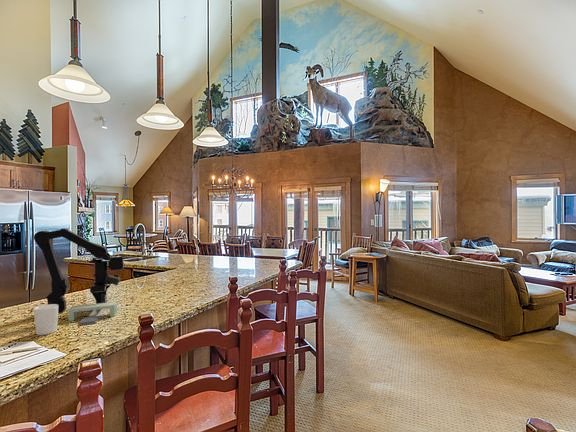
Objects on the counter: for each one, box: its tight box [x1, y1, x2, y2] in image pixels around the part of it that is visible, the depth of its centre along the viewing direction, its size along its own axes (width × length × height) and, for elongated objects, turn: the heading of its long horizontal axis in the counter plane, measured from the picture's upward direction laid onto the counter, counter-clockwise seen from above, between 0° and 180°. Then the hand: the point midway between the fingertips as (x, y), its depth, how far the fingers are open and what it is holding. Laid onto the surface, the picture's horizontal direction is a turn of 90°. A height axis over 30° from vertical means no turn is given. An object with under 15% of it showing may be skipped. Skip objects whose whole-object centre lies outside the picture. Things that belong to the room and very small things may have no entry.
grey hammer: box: [88, 293, 108, 318], centre depth 157 cm, size 4×21×6 cm, turn 19°
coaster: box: [79, 316, 100, 326], centre depth 141 cm, size 6×6×2 cm
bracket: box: [67, 301, 118, 322], centre depth 149 cm, size 18×6×5 cm, turn 109°
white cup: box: [33, 303, 59, 336], centre depth 130 cm, size 8×8×10 cm
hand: (101, 302), depth 165 cm, fingers open, 9 cm apart
